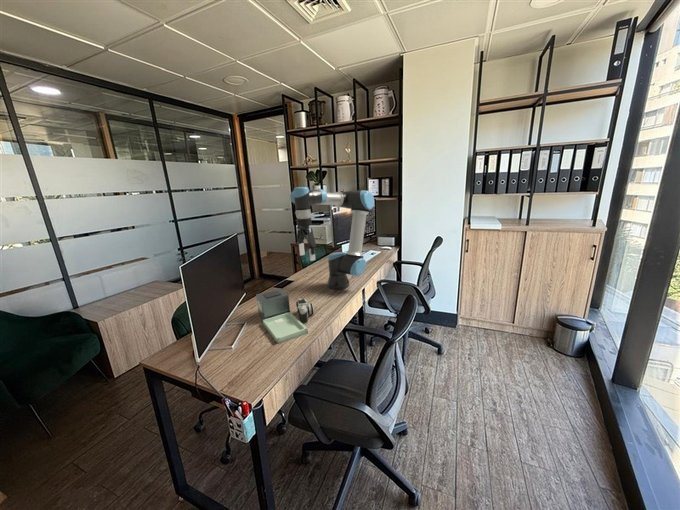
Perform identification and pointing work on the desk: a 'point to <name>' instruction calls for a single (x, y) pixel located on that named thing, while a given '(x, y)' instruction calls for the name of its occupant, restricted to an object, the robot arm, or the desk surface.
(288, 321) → the tray
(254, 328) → the desk surface
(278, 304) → the block
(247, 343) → the desk surface
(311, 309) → the camera
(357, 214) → the robot arm
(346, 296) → the desk surface
